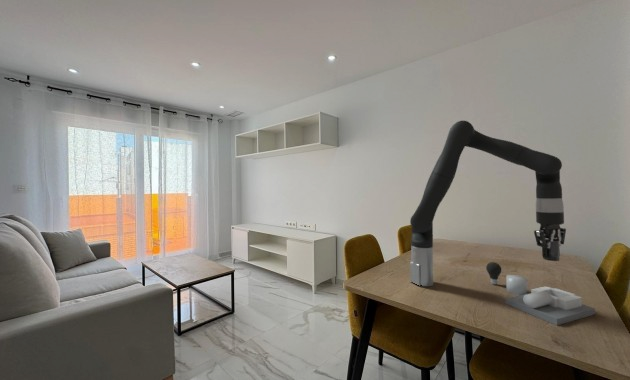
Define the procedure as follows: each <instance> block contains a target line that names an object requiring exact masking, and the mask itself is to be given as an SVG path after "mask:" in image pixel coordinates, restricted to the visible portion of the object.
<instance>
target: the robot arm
mask: <svg viewBox="0 0 630 380" xmlns="http://www.w3.org/2000/svg"><path fill="white" fill-rule="evenodd" d="M465 147H467V148H472V149H476V150H479V151H482V152H484V153H488V154H489V155H492V156H494V157H498V158H499V159H501V160H504V161H507V162H510V163H511V164H514V165H517V166H522V167H525V168H527V169H529V170H532V171H534V172H535V181H536V186H535V187H536V188H535V196H536V200H535V216H536V217H535V219H536V223H537V224H539V225H540V227H539V230H534V231H533V233H534V238H535V242H536V245H537V246H538V247H541V250H542V251H541V253H542V255H541V256H542V258H548V259H549V258H551V249H550V246H551V242H553V240H558V241H559V257H560V255H561V254H560V248H561V247H562V245H565V238H566V234H567V233H566V231H567V228H565V227H564V228H562V227H561V225H564V224H565V211H564V201H563V191H562V190H563V189H562V184H561V170H562V167H563V163H562V161H561V160H560V158H559V157H556V156H554V155H552V154H549V153H545V152H542V151H538V150H534V149H531V148H529V147H527V146H525V145H521V144H519V143H517V142H516V143H515V142H513V141H510V140H509V141H508V140H504V139H501V138H495V137H491V136H488V135H486V134H483V133H482V132H480V131H477V130H476V129H475V128H474V126H473V124H472V123H470V122H469V121H468V120H458V121H456V122H455V123H453V125H452V126H451V127H450V128H449V131H448V134H447V137H446V140H445V143H444V145H443V149H442V151H441V153H440V155H439V157H438V159H437V160H436V162H435V165H434V167H433V168H432V170H431V173H430V175H429V178H428V180H427V182H426V185H425V188H424V191H423V195H422V198H421V200H420V202H419V204H418V206H417V208H416V210H415V211H414V213H413V214H412V216H410V226H411V239H410V244H411V245H410V246H411V248H410V249H411V252H410V253H411V254H410V255H411V256H410V257H411V261H410V262H409V282H410V281H412V282H413V283H415V284H417V285H419V286H418V287H431V286H434V243H433V242H434V225H433V224H434V223H433V221H434V219H435V216H436V213H437V210H438V207H439V206H440V204H441V203H442V201H443V199H444V198H445V196H446V195H447V193H448V191H449V189H450V188H451V186H452V184H453V182H454V181H453V180H454V179H455V176H456V173H457V169H458V166H459V165H458V164H459V161H460V158H461V155H462V153H463V152H464V149H465ZM546 241H547V243H546ZM413 283H412V284H413ZM415 284H414V285H415ZM417 285H416V286H417ZM420 285H422V286H420Z"/></svg>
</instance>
